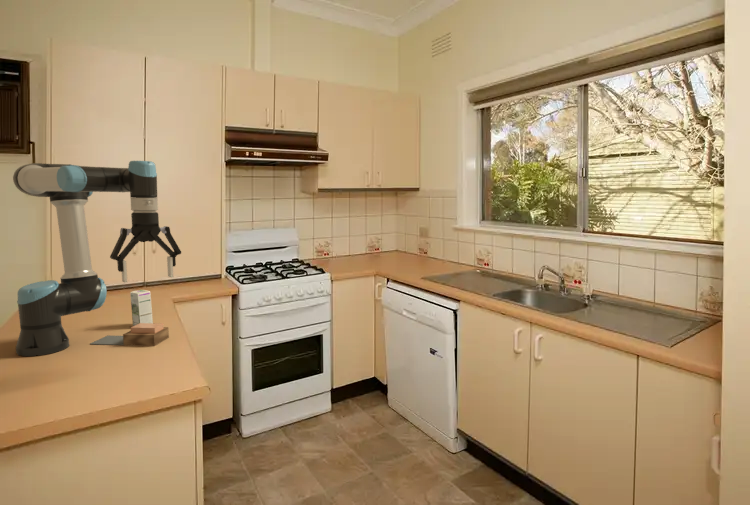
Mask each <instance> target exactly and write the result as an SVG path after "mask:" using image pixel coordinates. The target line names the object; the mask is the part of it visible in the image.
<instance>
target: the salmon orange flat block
mask: <svg viewBox="0 0 750 505" xmlns="http://www.w3.org/2000/svg"><path fill="white" fill-rule="evenodd" d="M164 327H165V326H164V323H160V322H159V323H157V322H155V323H154V322H153V323H139V324H137V325H135V326H133V325H132V326H131V327H130V331H131V333H157V332H158V331H160V330H162V329H164Z"/></svg>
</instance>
